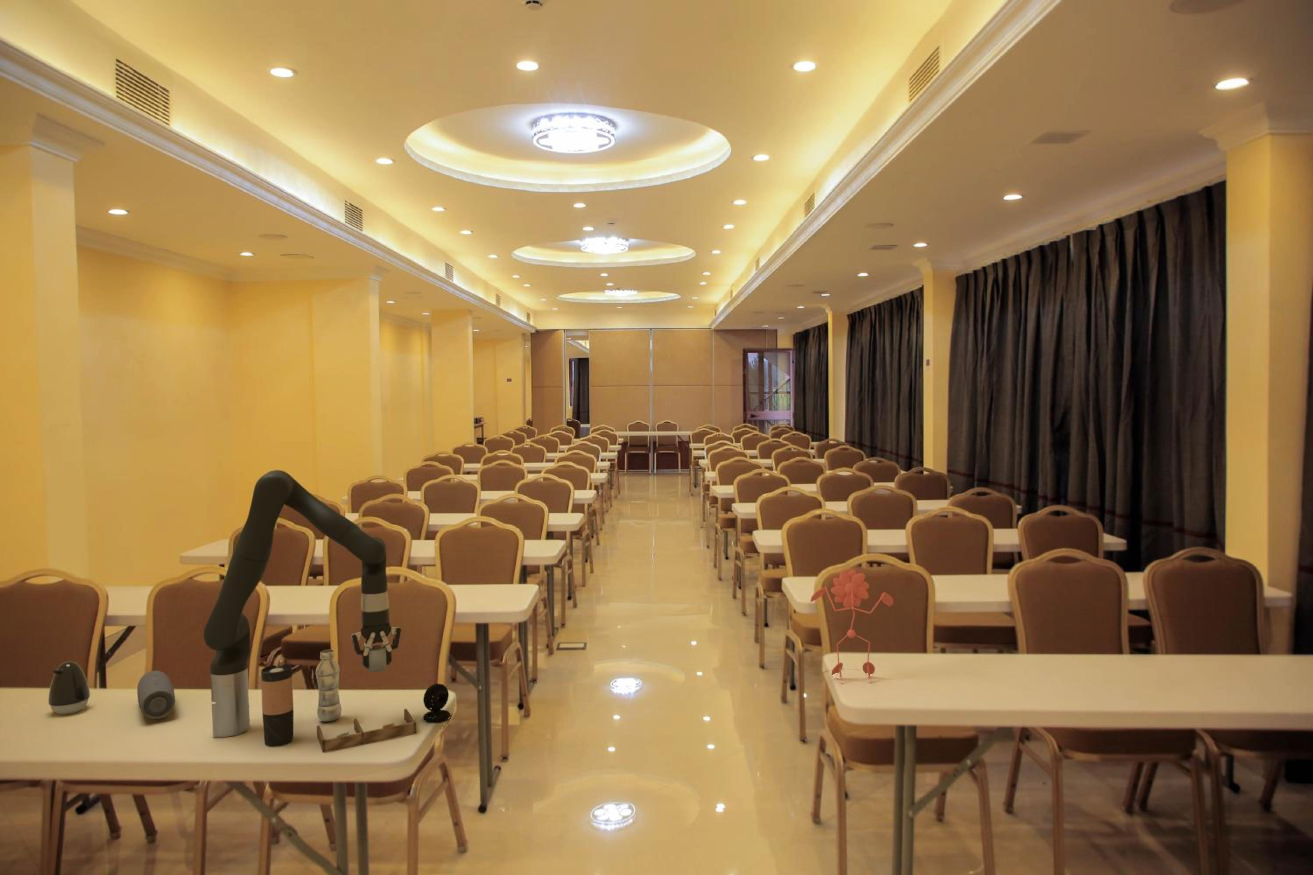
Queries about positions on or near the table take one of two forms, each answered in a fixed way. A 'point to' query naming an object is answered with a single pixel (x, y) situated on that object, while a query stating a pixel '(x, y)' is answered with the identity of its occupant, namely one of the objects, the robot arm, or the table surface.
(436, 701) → the webcam
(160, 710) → the bluetooth speaker
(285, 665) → the travel mug
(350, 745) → the slot rack
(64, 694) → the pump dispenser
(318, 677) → the plastic bottle
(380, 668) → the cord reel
